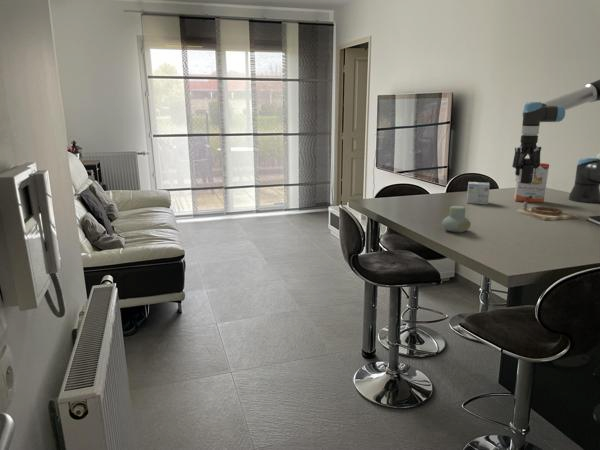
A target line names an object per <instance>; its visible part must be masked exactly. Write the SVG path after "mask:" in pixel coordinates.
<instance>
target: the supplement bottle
mask: <svg viewBox="0 0 600 450" xmlns="http://www.w3.org/2000/svg"><path fill="white" fill-rule="evenodd" d="M521 169H522V174H521V182H518V183H532V178H533V170H534V165H533V164H532V159H531V158H529V157H525V159H524V161H523V164H522V166H521Z"/></svg>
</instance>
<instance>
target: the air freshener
mask: <svg viewBox="0 0 600 450" xmlns="http://www.w3.org/2000/svg"><path fill="white" fill-rule="evenodd" d="M441 225H442V227H443V228H444V229H445V230H447V231H448V232H452V233H458V234H459V233H464V232H466V231H468V230H469V229H470V227H471V221H470V220H469V219H468V218H467V217H466V207H465V206H463V205H451V206H450V207H449V215H447V216H446V217H445V218H444V219H443V220H442V224H441Z"/></svg>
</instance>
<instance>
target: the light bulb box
mask: <svg viewBox="0 0 600 450" xmlns="http://www.w3.org/2000/svg"><path fill="white" fill-rule="evenodd" d="M466 194H467V195H466V204H473V205H474V204H475V205H476V204H477V205H488V204H489V196H490V182H480V181H479V182H477V181H468V185H467V193H466Z"/></svg>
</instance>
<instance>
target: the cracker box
mask: <svg viewBox="0 0 600 450" xmlns="http://www.w3.org/2000/svg"><path fill="white" fill-rule="evenodd" d="M549 169H550V164H549V163H548V162H540V166H539V167H538V168H536V171H535V175H534V181H533V182H532V183H518V182H516V181H515V190H514V197H513V198H514V201H515V202H523V203H524V202H528V203H540V204H542V203H543V204H544V202H545V194H546V190H547V189H546V188H547V181H548V176H549Z"/></svg>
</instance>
